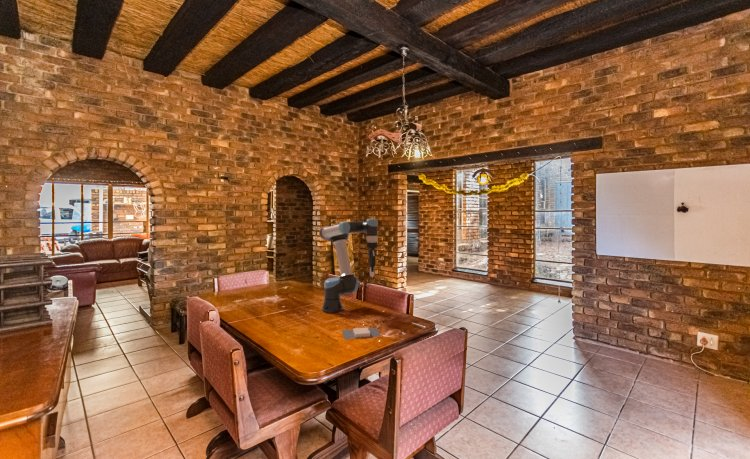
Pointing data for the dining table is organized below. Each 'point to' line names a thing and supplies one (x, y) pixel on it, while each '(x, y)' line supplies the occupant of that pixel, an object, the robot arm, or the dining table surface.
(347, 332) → the mat
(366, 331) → the tile
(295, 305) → the dining table surface
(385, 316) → the dining table surface
